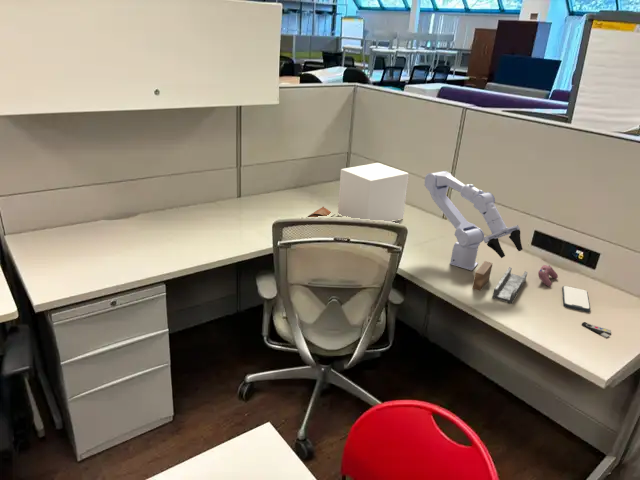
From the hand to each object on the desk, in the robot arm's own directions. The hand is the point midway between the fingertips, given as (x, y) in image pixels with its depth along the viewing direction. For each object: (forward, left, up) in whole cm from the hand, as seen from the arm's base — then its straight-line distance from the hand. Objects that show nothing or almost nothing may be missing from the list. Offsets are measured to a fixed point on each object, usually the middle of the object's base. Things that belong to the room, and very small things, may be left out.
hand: (512, 253), depth 181 cm
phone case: (+24, +6, -14) cm, 29 cm away
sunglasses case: (-92, +13, -14) cm, 94 cm away
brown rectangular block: (-8, -4, -14) cm, 16 cm away
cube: (-74, +30, -14) cm, 81 cm away
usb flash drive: (+33, -11, -14) cm, 38 cm away
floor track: (+2, -1, -14) cm, 14 cm away
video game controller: (+12, +15, -14) cm, 24 cm away
